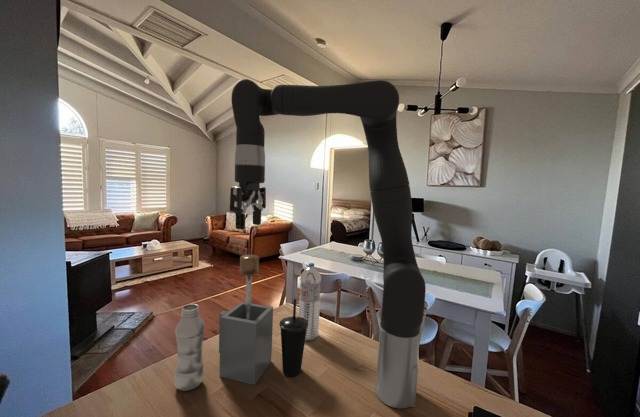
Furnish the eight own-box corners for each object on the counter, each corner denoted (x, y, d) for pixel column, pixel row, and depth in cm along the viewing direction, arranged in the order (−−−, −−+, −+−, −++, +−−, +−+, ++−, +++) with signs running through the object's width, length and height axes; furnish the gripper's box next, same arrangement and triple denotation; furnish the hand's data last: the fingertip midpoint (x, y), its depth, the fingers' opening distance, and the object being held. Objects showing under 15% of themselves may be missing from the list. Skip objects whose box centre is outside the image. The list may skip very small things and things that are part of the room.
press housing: (271, 361, 80) (273, 307, 78) (254, 385, 70) (256, 324, 69) (230, 352, 83) (232, 300, 82) (209, 374, 74) (210, 315, 72)
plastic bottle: (175, 379, 71) (176, 303, 69) (204, 374, 73) (205, 300, 72) (172, 397, 65) (172, 314, 63) (203, 391, 67) (204, 311, 66)
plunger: (264, 327, 78) (267, 255, 76) (252, 340, 71) (255, 261, 69) (242, 323, 80) (244, 252, 78) (229, 335, 73) (230, 258, 71)
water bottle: (295, 332, 96) (298, 260, 94) (314, 330, 98) (318, 260, 96) (300, 343, 90) (303, 266, 87) (320, 340, 92) (324, 266, 89)
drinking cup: (301, 383, 72) (305, 308, 70) (273, 377, 73) (276, 303, 71) (308, 364, 79) (312, 296, 77) (283, 360, 81) (285, 292, 79)
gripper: (249, 162, 64) (248, 232, 66) (275, 166, 78) (273, 224, 79) (220, 161, 66) (220, 229, 68) (250, 165, 80) (249, 222, 81)
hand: (249, 226), depth 73 cm, fingers open, 8 cm apart
